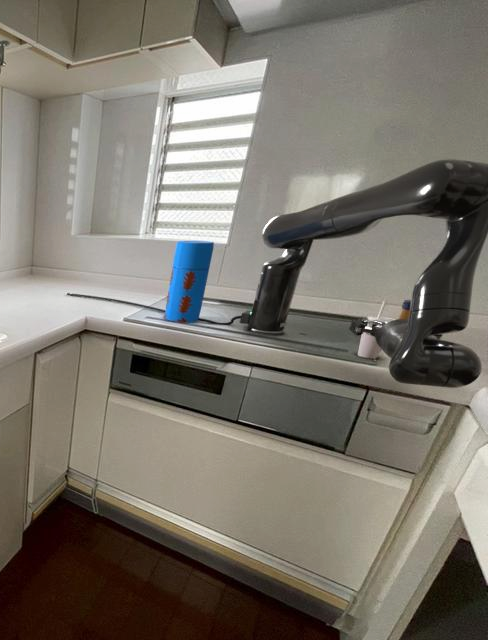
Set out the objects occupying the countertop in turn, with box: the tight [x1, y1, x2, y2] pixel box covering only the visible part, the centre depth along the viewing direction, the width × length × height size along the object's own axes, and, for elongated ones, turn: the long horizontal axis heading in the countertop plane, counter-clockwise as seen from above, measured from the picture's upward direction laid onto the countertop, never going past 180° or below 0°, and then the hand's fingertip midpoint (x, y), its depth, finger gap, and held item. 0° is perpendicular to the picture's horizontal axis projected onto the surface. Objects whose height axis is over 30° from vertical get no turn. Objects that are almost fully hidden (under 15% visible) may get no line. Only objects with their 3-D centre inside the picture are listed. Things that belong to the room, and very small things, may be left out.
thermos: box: [164, 240, 215, 324], centre depth 133 cm, size 11×11×25 cm
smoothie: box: [357, 300, 396, 359], centre depth 99 cm, size 6×6×14 cm
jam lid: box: [401, 299, 411, 310], centre depth 109 cm, size 6×6×2 cm
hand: (385, 323), depth 95 cm, fingers open, 8 cm apart
